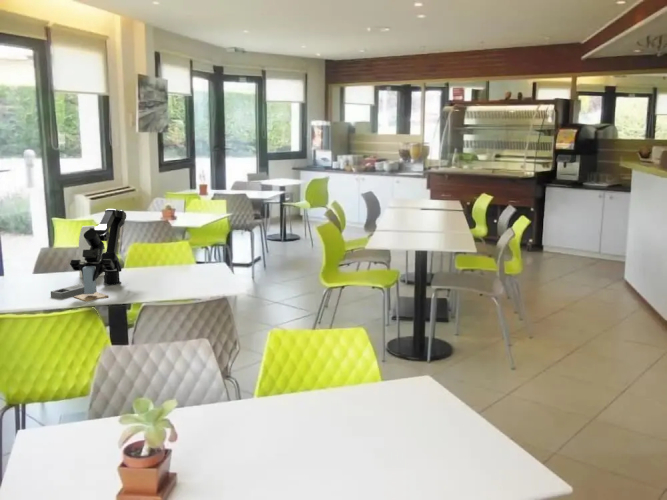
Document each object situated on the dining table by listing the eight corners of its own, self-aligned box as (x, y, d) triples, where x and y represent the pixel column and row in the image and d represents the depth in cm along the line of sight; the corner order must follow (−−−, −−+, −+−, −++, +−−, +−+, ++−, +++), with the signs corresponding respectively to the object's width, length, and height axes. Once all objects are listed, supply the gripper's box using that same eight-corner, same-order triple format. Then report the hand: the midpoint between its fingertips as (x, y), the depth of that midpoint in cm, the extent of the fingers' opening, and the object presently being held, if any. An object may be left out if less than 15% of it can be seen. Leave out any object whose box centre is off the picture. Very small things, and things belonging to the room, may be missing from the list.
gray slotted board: (83, 289, 308) (82, 282, 307) (93, 290, 305) (92, 283, 304) (51, 297, 292) (50, 290, 292) (61, 299, 289) (60, 292, 288)
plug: (87, 291, 293) (85, 266, 291) (96, 291, 293) (94, 266, 291) (84, 293, 289) (82, 268, 287) (93, 293, 289) (91, 268, 287)
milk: (103, 271, 347) (100, 223, 342) (104, 275, 336) (100, 226, 332) (80, 273, 343) (76, 225, 338) (79, 277, 332) (75, 228, 327)
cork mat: (95, 293, 299) (95, 291, 299) (108, 297, 292) (108, 295, 292) (73, 298, 291) (73, 296, 291) (85, 302, 284) (85, 300, 284)
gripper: (69, 242, 291) (61, 271, 282) (110, 242, 291) (103, 271, 282) (78, 255, 300) (70, 284, 292) (117, 255, 300) (111, 284, 291)
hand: (88, 280), depth 289 cm, fingers closed on plug, 4 cm apart
